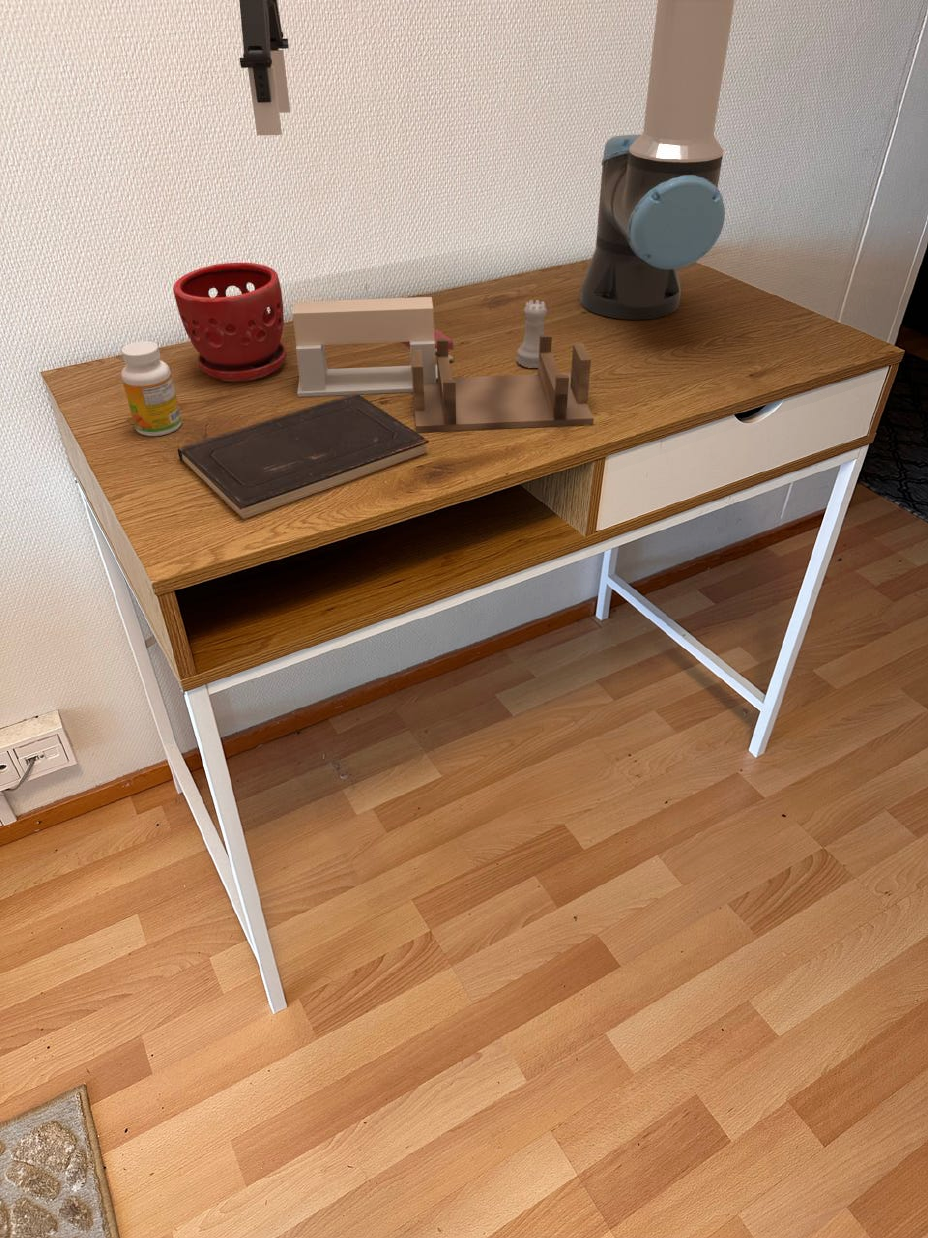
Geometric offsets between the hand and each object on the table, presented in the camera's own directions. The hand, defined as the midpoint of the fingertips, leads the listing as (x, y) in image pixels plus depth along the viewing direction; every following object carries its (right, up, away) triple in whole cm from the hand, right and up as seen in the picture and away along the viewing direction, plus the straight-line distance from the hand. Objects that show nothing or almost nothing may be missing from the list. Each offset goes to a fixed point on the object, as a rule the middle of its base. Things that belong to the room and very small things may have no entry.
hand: (274, 123), depth 104 cm
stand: (+10, -28, +9) cm, 32 cm away
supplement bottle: (-14, -36, 0) cm, 39 cm away
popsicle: (+17, -21, +20) cm, 33 cm away
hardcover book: (+5, -41, -5) cm, 42 cm away
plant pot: (-7, -26, +13) cm, 30 cm away
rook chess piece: (+32, -25, +14) cm, 43 cm away
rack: (+27, -32, +4) cm, 42 cm away
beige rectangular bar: (+10, -24, +6) cm, 26 cm away
